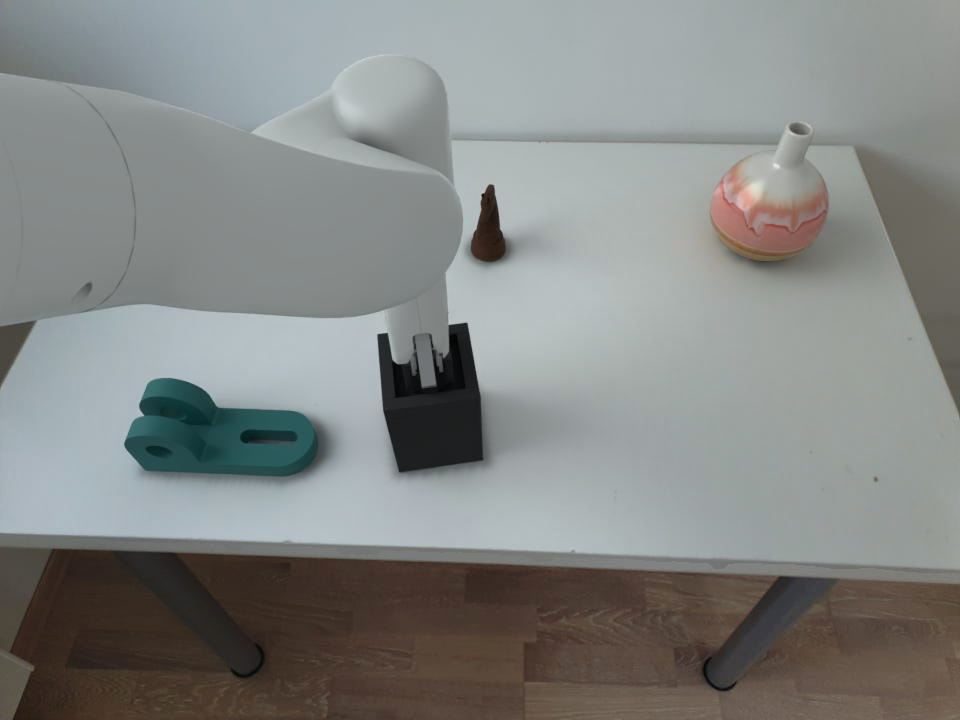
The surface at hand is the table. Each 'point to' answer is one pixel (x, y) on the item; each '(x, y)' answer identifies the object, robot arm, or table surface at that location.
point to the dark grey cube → (447, 360)
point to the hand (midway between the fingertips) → (427, 365)
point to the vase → (772, 200)
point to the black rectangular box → (433, 410)
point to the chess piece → (488, 230)
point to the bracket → (215, 434)
